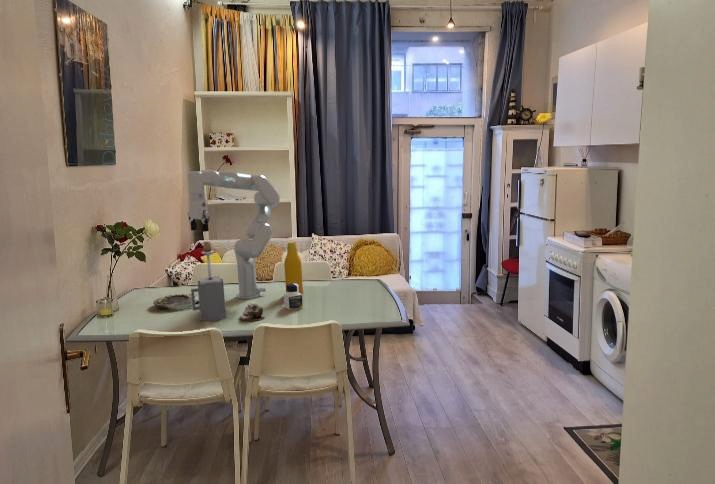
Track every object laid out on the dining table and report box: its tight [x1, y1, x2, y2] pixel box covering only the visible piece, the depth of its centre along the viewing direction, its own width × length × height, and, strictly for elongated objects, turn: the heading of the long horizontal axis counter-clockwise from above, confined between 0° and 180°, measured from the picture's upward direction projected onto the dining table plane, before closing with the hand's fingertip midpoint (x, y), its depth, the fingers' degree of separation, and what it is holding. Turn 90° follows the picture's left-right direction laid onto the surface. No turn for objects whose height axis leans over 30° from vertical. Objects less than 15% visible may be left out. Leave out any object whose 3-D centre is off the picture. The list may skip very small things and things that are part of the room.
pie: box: [152, 293, 200, 312], centre depth 287 cm, size 28×27×5 cm
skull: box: [239, 301, 265, 322], centre depth 260 cm, size 12×10×10 cm
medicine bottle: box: [283, 283, 304, 311], centre depth 274 cm, size 7×7×12 cm
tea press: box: [190, 275, 227, 323], centre depth 261 cm, size 15×12×19 cm
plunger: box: [201, 241, 215, 284], centre depth 259 cm, size 8×8×23 cm
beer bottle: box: [283, 241, 304, 295], centre depth 297 cm, size 9×9×29 cm
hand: (199, 230), depth 275 cm, fingers open, 9 cm apart
